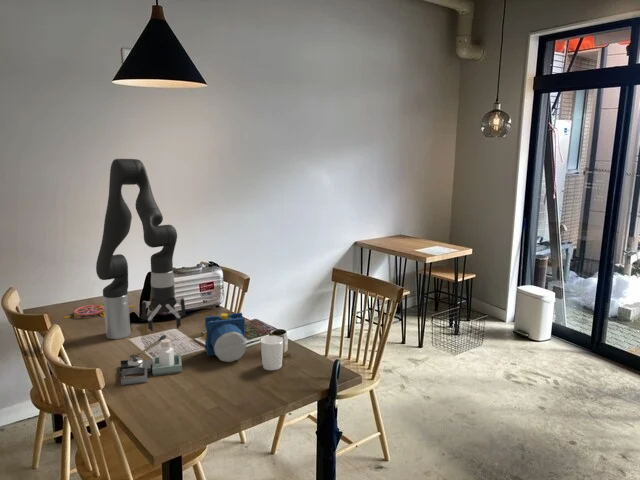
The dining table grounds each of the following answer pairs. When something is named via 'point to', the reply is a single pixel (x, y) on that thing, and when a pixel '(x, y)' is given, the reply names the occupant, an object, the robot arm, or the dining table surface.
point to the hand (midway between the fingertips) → (164, 328)
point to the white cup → (272, 352)
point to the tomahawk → (151, 345)
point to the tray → (167, 369)
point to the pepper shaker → (166, 353)
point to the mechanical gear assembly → (90, 310)
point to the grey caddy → (134, 370)
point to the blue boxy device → (225, 336)
